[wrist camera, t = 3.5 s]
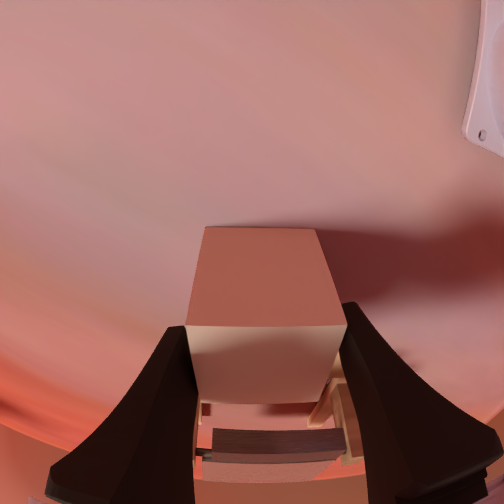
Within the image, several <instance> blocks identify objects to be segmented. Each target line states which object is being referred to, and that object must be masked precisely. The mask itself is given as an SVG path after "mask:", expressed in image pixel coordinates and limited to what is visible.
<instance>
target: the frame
mask: <svg viewBox="0 0 504 504" xmlns="http://www.w3.org/2000/svg"><path fill="white" fill-rule="evenodd" d="M328 378H332V380H331V382H330V383H329V385H328V387H327V388H326V390H325V391H324V393H323V395H322V396H321V398H320V400H319V401H318V403H317V404H316V406H315V408H314V409H313V411H312V412H311V414H310V415H309V417H308V418H307V425H308V427H321V426H322V425H323V424H324V423H325V421H326V420H327V419H328V417H329V416H330V415H331V413H332V412H333V416H334V422H335V427H336V428H343V429H344V434H345V439H346V445H347V450H346V451H345V452H344V453H343V454H342V455H340V456H341V462H342V466H343V465H351V464H357V463H358V462H359V461H361V460H362V459H363V458H364V454H363V447H362V441H361V434H360V429H359V424H358V419H357V415H356V412H355V408H354V405H353V402H352V398H351V395H350V392H349V389H348V385H347V382H346V379H345V376H344V372H343V369H342V366H341V361H340V356H339V351H338V353H337V356H336V358H335V361H334V364H333V366H332V369H331V371H330V374H329V377H328ZM201 422H202V403H201V401H200V397H199V395H198V403H197V410H196V418H195V425H194V433H193V467H195V459H196V456H204V457H211V455H212V449H204V448H196V446H197V433H198V424H201Z"/></svg>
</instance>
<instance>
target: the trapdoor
mask: <svg viewBox="0 0 504 504" xmlns="http://www.w3.org/2000/svg"><path fill="white" fill-rule="evenodd" d="M346 450H347V445H346V439H345V434H344V429H343V428H332V429H317V430H288V431H263V430H234V429H218V428H213V435H212V455H211V457H204V456H203V457H202V469H203V480H204V481H217V482H218V481H219V482H239V483H277V482H298V481H311V480H312V479H313V478H315V477H316V476H317V475H319V474H320V473H321V472H322V471H324V470H325V469H326V468H327V467H329V466H330V465H331V464H332V463H333V462H335V461H336V459H337V458H338V457H339V456H340V455H342V454H343V453H344V452H345V451H346Z"/></svg>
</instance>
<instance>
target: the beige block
mask: <svg viewBox="0 0 504 504" xmlns="http://www.w3.org/2000/svg"><path fill="white" fill-rule="evenodd" d="M347 325H348V324H347V321H346V318H345V315H344V312H343V309H342V306H341V303H340V300H339V297H338V294H337V291H336V288H335V285H334V282H333V279H332V276H331V273H330V271H329V268H328V265H327V262H326V259H325V257H324V254H323V251H322V248H321V246H320V243H319V240H318V237H317V235H316V232H315V229H301V228H251V227H205V230H204V234H203V239H202V244H201V248H200V253H199V258H198V263H197V267H196V272H195V277H194V282H193V287H192V293H191V298H190V303H189V308H188V314H187V319H186V325H185V326H186V332H187V337H188V343H189V348H190V353H191V358H192V363H193V368H194V373H195V378H196V383H197V388H198V392H199V397H200V401H201V403H214V404H284V403H304V402H318V401H319V399H320V396H321V394H322V391H323V389H324V386H325V384H326V382H327V379H328V377H329V374H330V371H331V369H332V366H333V364H334V361H335V358H336V356H337V353H338V350H339V348H340V345H341V342H342V339H343V337H344V334H345V331H346V328H347Z"/></svg>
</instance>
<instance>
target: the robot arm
mask: <svg viewBox="0 0 504 504" xmlns="http://www.w3.org/2000/svg"><path fill="white" fill-rule="evenodd" d="M480 130H481V136H480V138H479V137H478V135H479V132H480ZM461 131H462V135H463V137H464V139H466V140H467V141H469V142H471V143H473V144H475V145H478V146H480V147H482V148H484V149H487V150H489V151H491V152H493V153H495V154H497V155H499V156H501V157H503V158H504V0H482V3H481V18H480V29H479V39H478V47H477V54H476V61H475V67H474V73H473V78H472V84H471V89H470V94H469V98H468V103H467V107H466V112H465V116H464V120H463V124H462V130H461ZM341 306H342V309H343V312H344V315H345V318H346V321H347V324H348V325H347V328H346V331H345V334H344V337H343V339H342V342H341V345H340V348H339V350H338V351H339V356H340V361H341V366H342V369H343V372H344V376H345V379H346V382H347V385H348V389H349V392H350V395H351V398H352V402H353V405H354V408H355V412H356V415H357V419H358V424H359V429H360V434H361V441H362V447H363V454H364V461H365V469H366V478H367V488H368V501H369V504H504V474H503V475H501V476H500V477H498V478H496V479H494V480H492V481H491V482H489V483H487V484H486V483H485V480H484V478H486V477H487V471H486V467H488V466H489V465H491V464H492V463H493V462H495V461H496V460H498V459H499V458H500V457H502V456H503V454H504V450H503V447H502V444H501V441H500V439H499V437H498V435H497V433H496V431H495V430H494V429H493V428H491V427H489V426H487V425H485V424H483V423H482V422H480V421H478V420H477V419H475V418H473V417H472V416H470V415H469V414H467V413H465V412H464V411H462V410H461V409H459V408H458V407H457V406H455V405H454V404H453V403H451V402H450V401H448V400H447V399H446V398H444V397H443V396H442V395H440V394H439V393H438V392H437V391H435V390H434V389H433V388H432V387H431V386H430V385H428V384H427V383H426V382H425V381H424V380H423V379H422V378H420V377H419V376H418V375H417V374H416V373H415V372H414V371H413V370H412V369H411V368H410V367H409V366H408V365H407V364H406V363H405V362H404V361H403V360H402V359H401V358H400V357H399V356H398V355H397V353H396V352H395V351H394V350H393V349H392V348H391V347H390V346H389V344H388V343H387V342H386V341H385V340H384V338H383V337H382V336H381V335H380V334H379V332H378V331H377V330H376V329H375V327H374V326H373V325H372V324H371V322H370V321H369V320H368V318H367V317H366V316H365V314H364V313H363V312H362V310H361V309H360V307H359V306H358V304H357V303H356V302H348V303H343V304H341ZM198 395H199V392H198V388H197V383H196V378H195V373H194V368H193V363H192V358H191V353H190V348H189V343H188V337H187V332H186V329H185V327H184V326H174V327H168V328H167V330H166V332H165V333H164V335H163V337H162V338H161V340H160V342H159V343H158V345H157V347H156V348H155V350H154V352H153V353H152V355H151V357H150V358H149V360H148V361H147V363H146V365H145V366H144V368H143V369H142V371H141V373H140V374H139V376H138V377H137V379H136V380H135V382H134V383H133V384H132V386H131V387H130V389H129V390H128V392H127V393H126V395H125V396H124V397H123V399H122V400H121V401H120V403H119V404H118V405H117V406H116V408H115V409H114V410H113V411H112V412H111V414H110V415H109V416H108V417H107V418H106V419H105V420H104V421H103V423H102V424H101V425H100V426H99V427H98V428H97V429H96V430H95V431H94V432H93V433H92V434H91V435H90V436H89V437H88V438H87V439H85V440H84V441H83V442H82V443H81V444H80V445H79V446H78V447H76V448H75V449H74V450H73V451H72V452H70V453H69V454H68V455H66V456H65V457H64V458H62V459H61V460H59V461H58V462H57V463H55V464H54V465H53V466H51V468H50V472H49V476H48V480H47V484H46V489H45V495H46V497H48V498H50V499H53V500H55V501H57V502H59V503H62V504H195V495H194V482H193V433H194V425H195V418H196V410H197V403H198ZM28 504H47V503H45V502H42V501H40V500H38V499H36V498H33V497H29V501H28Z"/></svg>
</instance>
